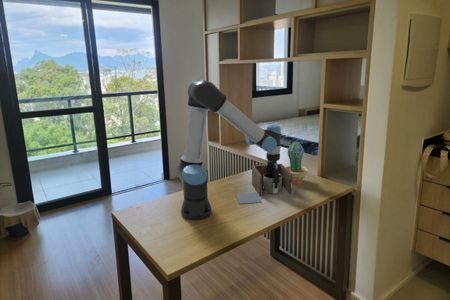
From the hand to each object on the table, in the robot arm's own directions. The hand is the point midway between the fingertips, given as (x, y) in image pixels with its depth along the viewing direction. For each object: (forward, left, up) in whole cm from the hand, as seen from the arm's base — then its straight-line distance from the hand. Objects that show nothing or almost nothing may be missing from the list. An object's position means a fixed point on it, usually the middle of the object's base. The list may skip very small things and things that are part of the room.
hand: (272, 189), depth 182 cm
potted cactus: (+18, +12, -1) cm, 22 cm away
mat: (-16, -8, -1) cm, 18 cm away
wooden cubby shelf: (0, +4, -1) cm, 4 cm away
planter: (0, 0, -1) cm, 1 cm away
